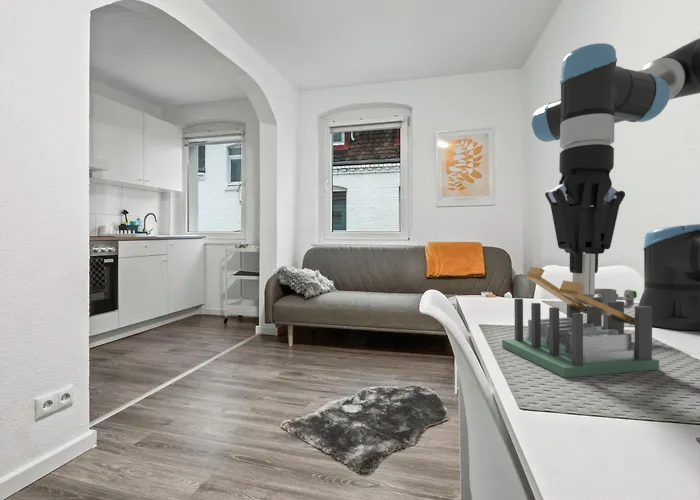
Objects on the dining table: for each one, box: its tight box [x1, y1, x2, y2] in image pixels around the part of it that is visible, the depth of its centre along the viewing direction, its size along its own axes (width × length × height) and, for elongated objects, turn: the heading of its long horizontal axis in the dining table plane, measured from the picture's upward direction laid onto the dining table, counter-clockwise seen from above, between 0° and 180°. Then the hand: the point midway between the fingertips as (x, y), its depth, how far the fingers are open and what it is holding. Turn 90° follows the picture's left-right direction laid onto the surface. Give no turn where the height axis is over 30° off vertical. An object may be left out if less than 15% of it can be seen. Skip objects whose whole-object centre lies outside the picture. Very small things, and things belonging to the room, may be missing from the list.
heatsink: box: [525, 316, 635, 364], centre depth 69 cm, size 9×15×4 cm, turn 10°
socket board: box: [501, 337, 660, 379], centre depth 69 cm, size 17×17×2 cm
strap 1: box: [525, 266, 587, 314], centre depth 74 cm, size 14×4×2 cm
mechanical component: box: [582, 288, 638, 330], centre depth 83 cm, size 3×10×10 cm, turn 79°
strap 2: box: [559, 280, 635, 326], centre depth 64 cm, size 14×4×2 cm, turn 100°
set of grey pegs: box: [514, 296, 653, 366], centre depth 69 cm, size 14×16×8 cm
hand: (583, 293), depth 63 cm, fingers closed
